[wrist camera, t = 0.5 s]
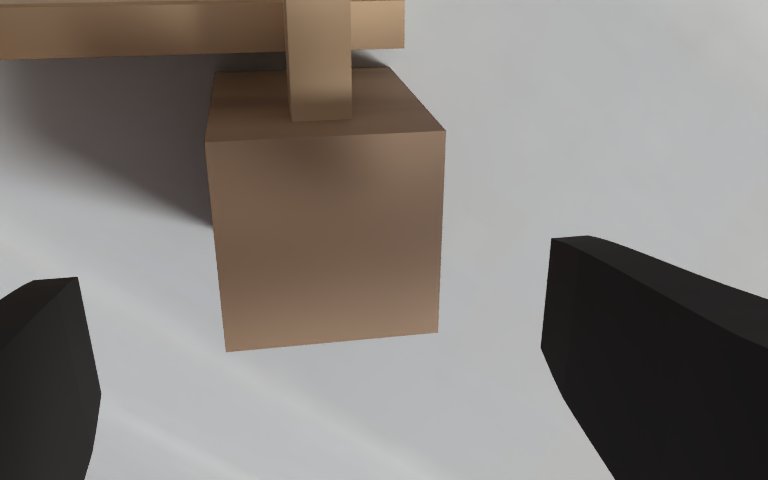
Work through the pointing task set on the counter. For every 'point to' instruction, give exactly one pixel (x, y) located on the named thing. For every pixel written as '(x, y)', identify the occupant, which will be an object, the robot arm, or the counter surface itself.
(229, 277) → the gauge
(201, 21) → the board
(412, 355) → the counter surface
